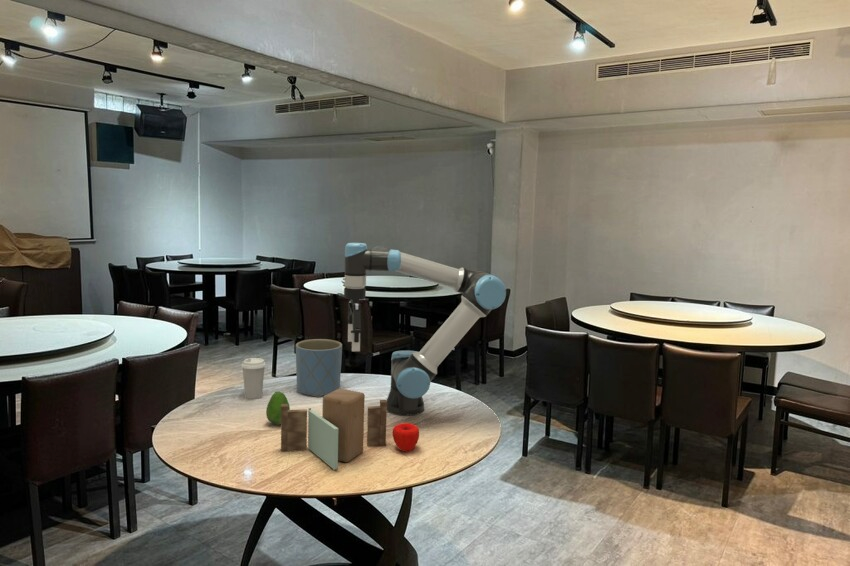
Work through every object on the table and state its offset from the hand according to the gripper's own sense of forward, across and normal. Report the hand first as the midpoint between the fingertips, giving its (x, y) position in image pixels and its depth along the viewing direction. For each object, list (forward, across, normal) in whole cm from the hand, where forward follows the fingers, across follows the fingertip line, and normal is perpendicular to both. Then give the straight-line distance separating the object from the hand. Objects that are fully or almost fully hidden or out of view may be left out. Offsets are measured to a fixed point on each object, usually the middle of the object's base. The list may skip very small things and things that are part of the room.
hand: (353, 346), depth 205 cm
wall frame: (+29, +20, -7) cm, 35 cm away
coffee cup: (+29, -33, -36) cm, 57 cm away
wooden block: (+29, +25, -6) cm, 39 cm away
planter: (+29, -38, -10) cm, 49 cm away
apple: (+29, +24, +15) cm, 40 cm away
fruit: (+29, -3, -26) cm, 39 cm away
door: (+28, +28, -12) cm, 41 cm away
